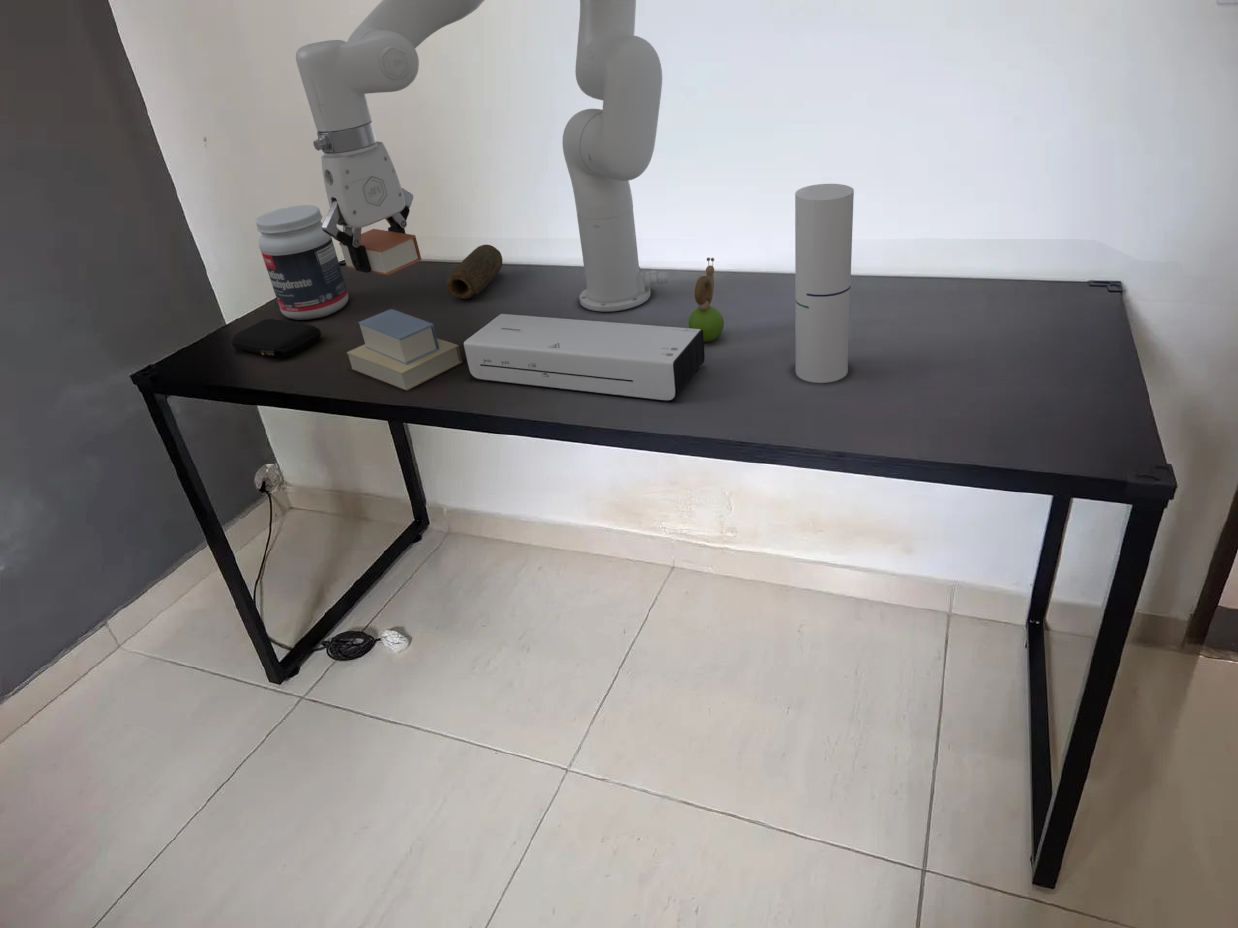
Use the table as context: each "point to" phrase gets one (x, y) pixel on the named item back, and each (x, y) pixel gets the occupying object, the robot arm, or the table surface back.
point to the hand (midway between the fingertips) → (383, 261)
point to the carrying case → (276, 338)
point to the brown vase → (475, 272)
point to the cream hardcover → (403, 373)
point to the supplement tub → (301, 263)
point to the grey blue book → (399, 336)
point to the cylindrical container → (822, 281)
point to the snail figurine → (706, 307)
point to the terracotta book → (386, 251)
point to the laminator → (586, 356)
